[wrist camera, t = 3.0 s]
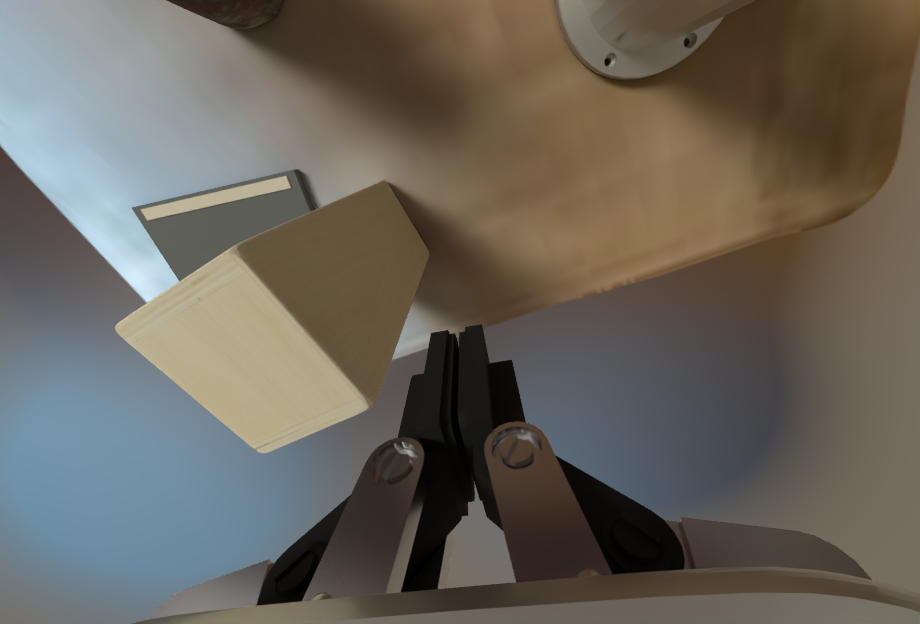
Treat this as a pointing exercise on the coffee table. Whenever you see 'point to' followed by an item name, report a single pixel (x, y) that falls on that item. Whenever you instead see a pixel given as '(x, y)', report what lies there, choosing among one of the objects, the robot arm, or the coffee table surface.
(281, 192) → the mat
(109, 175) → the coffee table surface
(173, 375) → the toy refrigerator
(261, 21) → the brown rounded cylinder
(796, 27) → the coffee table surface
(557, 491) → the robot arm
